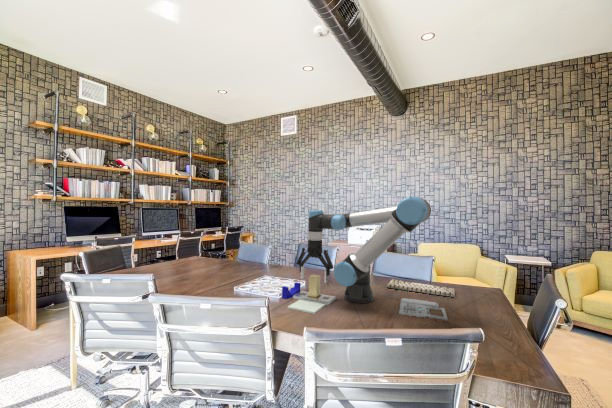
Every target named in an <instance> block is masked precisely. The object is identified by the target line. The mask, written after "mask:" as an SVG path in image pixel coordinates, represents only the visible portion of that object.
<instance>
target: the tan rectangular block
mask: <svg viewBox="0 0 612 408" xmlns="http://www.w3.org/2000/svg"><path fill="white" fill-rule="evenodd" d="M308 292H309V297H311V298H319V297H320V294H321V275H320V274H319V275H318V274H310V275H309V276H308Z"/></svg>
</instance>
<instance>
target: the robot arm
mask: <svg viewBox="0 0 612 408" xmlns="http://www.w3.org/2000/svg"><path fill="white" fill-rule="evenodd" d="M431 213H432V207H431V204H430V203H429V202H428V201H427V200H426V199H424V198H423V197H422V198H421V197H418V196H413V195H412V196H407V197H405V198H403V199H402V200H400V201H399V202H398V204H397V205H395V206H387V207H380V208H375V209H367V210H362V211H355V212H348V213H342V214H341V213H340V214H338V213H337V214H326V213H324V211H323V210H322V209H321V210H320V209H310V210H309V211H308V218H307V219H308V229H307V232H308V233H307V238H308V240H307V247H306V246H305V247H302V248H301V253H300V255H299V257H298V259H297V261H296V265H297V266H299V273H300V279H301V280H303V279H305V272H306V271H305V268H306V267H305V264H306V263H307V262H308V261H309V259H310V258H315V259H319V261H320V262H321V264H322V265H323V266H324V281H323V283H325V284H326V283H328V282H329V276H330V274H331V273H330V272H331V271H330V270H332V269H334V270H333V276H334V279H335V280H336V282H337V283H338V284H339V285H341V286H343V287H345V289H344V291H343V298H344V300H346V301H348V302H349V303H355V304H369V303H371V302H374V293H373V290H372V287H371V265H372V264H373V263H374V262H376V260H377V259H378V258H379V257H380V256H381V255H382V254H384V253H385V252H386V251H387V250H388V249H389V248H390V247H391V246H393V244H394V243H396V242H397V241H398V240H399V239H400V238H401V237H402V236H403V235H404V234H405V233H411V232H412V231H414V230H415V229H416V228H417V227H418V226H419V225H420V224H421V223H424V222H425V221H426V222H427V220H428V219H429V218H430V216H431ZM378 224H383V225H382V226H381V228H379V229H378V230H377V231H376V232H375V233H374V234H373V235H372V237H370V238H369V239H368V240H367V241H366V242H365V243H364V244H363V245H362V246H361V247H360V248H359V249H357V251H355V252H351V253H349V254H348V255H347V256H346V257H345V258H344V259H343V260H342V261H340V262H337V264H336V265H335V266H334V265H333V262H332V261H331V257H330V255H329V250H328V249H323V233H324V232H323V231H324V230H334V231H342V230H344V229H348V228H353V227H354V228H355V227H363V226H370V225H378ZM306 253H308V254H307V255H306V256H305V254H306ZM304 256H305V257H304Z"/></svg>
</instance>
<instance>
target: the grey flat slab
mask: <svg viewBox="0 0 612 408" xmlns="http://www.w3.org/2000/svg"><path fill="white" fill-rule="evenodd" d="M431 309H435V310H434V311H439V310H441V313H442V315H436V314H431V312H430V310H431ZM399 314H401V315H400V316H405V315H409V316H408V317H412V316H416V317H415V318H420V317H424V318H423V319H426V318H425V317H429V318H428V319H433V318H436V319H435V320H441V319H442V321H448V315H447V312H446V310H445V308H444V307H440V306H439V303H437V302H436V301H433V300H422V299H414V298H400V303H399V309H398V315H399Z"/></svg>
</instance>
